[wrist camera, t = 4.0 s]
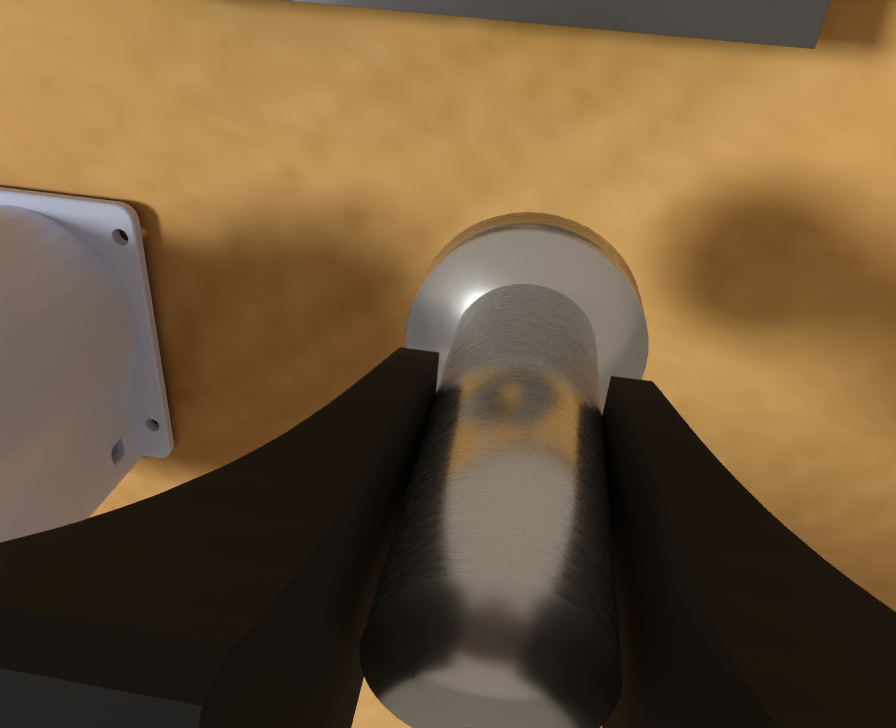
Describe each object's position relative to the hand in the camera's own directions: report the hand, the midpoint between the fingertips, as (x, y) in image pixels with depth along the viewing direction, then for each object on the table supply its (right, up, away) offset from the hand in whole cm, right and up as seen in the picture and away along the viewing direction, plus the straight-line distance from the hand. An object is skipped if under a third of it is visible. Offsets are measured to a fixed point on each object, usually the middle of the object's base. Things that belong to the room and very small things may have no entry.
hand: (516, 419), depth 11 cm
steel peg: (0, +2, +3) cm, 3 cm away
